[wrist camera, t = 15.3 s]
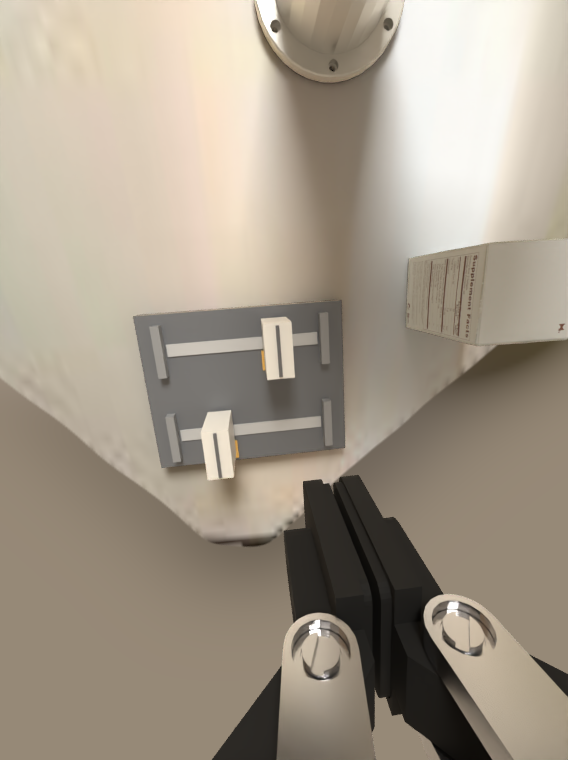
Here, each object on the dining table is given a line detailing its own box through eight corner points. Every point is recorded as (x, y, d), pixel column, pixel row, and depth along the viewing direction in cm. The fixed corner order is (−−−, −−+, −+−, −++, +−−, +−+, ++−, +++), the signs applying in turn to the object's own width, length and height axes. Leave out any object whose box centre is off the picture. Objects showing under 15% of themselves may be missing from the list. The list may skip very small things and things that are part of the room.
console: (139, 314, 34) (129, 317, 31) (336, 299, 35) (344, 300, 32) (166, 458, 38) (159, 472, 35) (340, 440, 40) (347, 452, 37)
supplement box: (474, 253, 35) (591, 236, 23) (467, 324, 37) (571, 343, 25) (406, 256, 35) (489, 239, 23) (402, 328, 37) (477, 349, 25)
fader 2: (260, 318, 33) (262, 324, 28) (285, 316, 33) (291, 321, 28) (265, 366, 34) (267, 380, 29) (288, 364, 34) (295, 378, 29)
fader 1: (207, 412, 35) (200, 433, 30) (231, 409, 35) (227, 430, 30) (213, 454, 36) (207, 481, 31) (236, 452, 36) (234, 478, 31)
